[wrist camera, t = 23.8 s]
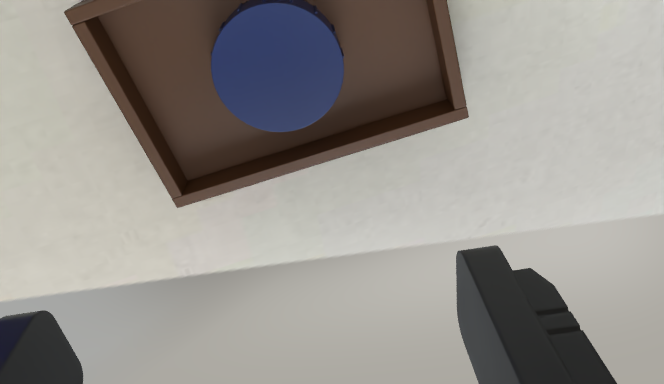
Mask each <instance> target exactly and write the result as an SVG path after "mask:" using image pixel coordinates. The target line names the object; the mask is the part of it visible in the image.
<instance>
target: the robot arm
mask: <svg viewBox="0 0 664 384" xmlns="http://www.w3.org/2000/svg"><path fill="white" fill-rule="evenodd" d="M456 269H457V270H456V274H457V314H458V321H459V327H460V330H461V335H462V338H463V341H464V344H465V347H466V349H467V352H468V355H469V358H470V360H471V363H472V366H473V369H474V372H475V374H476V377H477V380H478V382H479V384H617V383H616V381H615V380H614V378H613V377H612V375H611V374H610V372H609V371H608V369H607V367H606V366H605V364H604V363H603V361H602V360H601V358H600V356H599V355H598V353H597V352H596V350H595V349H594V347H593V346H592V344H591V343H590V341H589V339H588V338H587V336H586V335H585V333H584V332H583V331H581V330H580V325H579V324H578V322H577V321H576V319H575V318H574V316H573V314H572V313H571V312H569V311H568V307H567V305H566V304H565V302H564V300H563V299H562V297H561V296H560V294H559V293H558V291H557V290H556V288H555V286H554V285H553V284H551V283H550V282H549V281H547V280H546V279H545V278H543V277H542V276H541V275H539V274H538V273H537V272H535V271H534V270H532V269H531V268H528V269H521V270H514V271H512V269H511V267H510V265H509V263H508V262H507V260H506V258H505V256H504V255H503V253H502V251H501V250H500V248H499V247H498V246H489V247H482V248H476V249H468V250H461V251H458V252H457V256H456ZM0 384H83V371H82V366H81V363H80V361H79V359H78V358H77V356H76V355H75V352H74V351H73V349H72V347H71V346H70V344H69V342H68V340H67V339H66V337H65V335H64V334H63V332H62V330H61V329H60V327H59V325H58V323H57V321H56V320H55V318H54V317H53V315H52V314H51V313H49V312H48V311H37V312H30V313H23V314H16V315H10V316H5V317H2V318H1V319H0Z"/></svg>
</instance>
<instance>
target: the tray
mask: <svg viewBox="0 0 664 384" xmlns="http://www.w3.org/2000/svg"><path fill="white" fill-rule="evenodd" d="M247 1H249V0H84V1H81V2H80V3H78V4H76V5H74V6H73V7H71V8H69V9H67V10H66V11H65V12H64V13H65V15H66V17H67V18H68V20H69V22H70V23H71V25H73V26H72V27H73V29H74V30H75V32H76V34H77V36H78V37H79V39H80V41H81V43H82V44H83V46H84V48H85V49H86V51H87V53H88V55H89V56H90V58H91V60H92V62H93V63H94V65H95V67H96V68H97V70H98V72H99V74H100V75H101V77H102V79H103V80H104V82H105V84H106V86H107V87H108V89H109V91H110V93H111V94H112V96H113V98H114V99H115V101H116V103H117V105H118V106H119V108H120V110H121V112H122V113H123V115H124V117H125V118H126V120H127V122H128V124H129V125H130V127H131V129H132V130H133V132H134V134H135V136H136V137H137V139H138V141H139V143H140V144H141V146H142V148H143V149H144V151H145V153H146V155H147V156H148V158H149V160H150V162H151V163H152V165H153V167H154V168H155V170H156V172H157V174H158V175H159V177H160V179H161V180H162V182H163V184H164V186H165V187H166V189H167V191H168V193H169V194H170V196H171V198H172V200H173V201H174V203H175V205H176V207H177V208H179V207H182V206H185V205H189V204H192V203H195V202H198V201H201V200H205V199H208V198H211V197H214V196H218V195H221V194H224V193H227V192H230V191H234V190H237V189H240V188H243V187H247V186H250V185H253V184H256V183H259V182H263V181H266V180H269V179H272V178H275V177H279V176H282V175H285V174H288V173H292V172H295V171H298V170H301V169H304V168H308V167H311V166H314V165H317V164H321V163H324V162H327V161H330V160H333V159H337V158H340V157H343V156H346V155H350V154H353V153H356V152H359V151H362V150H366V149H369V148H372V147H375V146H379V145H382V144H385V143H388V142H391V141H395V140H398V139H401V138H404V137H407V136H411V135H414V134H417V133H420V132H424V131H427V130H430V129H433V128H436V127H440V126H443V125H446V124H449V123H453V122H456V121H459V120H462V119H465V118H468V117H469V116H468V110H467V107H466V100H465V95H464V90H463V84H462V79H461V74H460V68H459V63H458V58H457V53H456V47H455V42H454V37H453V31H452V26H451V21H450V15H449V10H448V5H447V0H304V1H306V2H308V3H309V4H311V5H313V6H314V5H316V6H317V9H318V10H319V11H320V12H321V13H322V14H323V15H324V16H325V17H326V18H327V20H328V21H329V22H330V24H331V25H332V24H333V25H334V28H335V32H336V35H337V38H338V41H339V45H340V48H342V50H343V54H344V58H343V63H344V76H343V83H342V87H341V90H340V92H339V95H338V97H337V99H336V101H335V102H334V104H333V105H332V107H331V108H330V109H329V110H328V111H327V112H326V113H325V115H324V116H322V117H321V118H320V119H318V120H317V121H316V122H314V123H312V124H311V125H308V126H306V127H304V128H301V129H298V130H294V131H288V132H271V131H266V130H261V129H258V128H255V127H253V126H251V125H248V124H246V123H245V122H243V121H241V120H240V119H239V118H237V117H236V116H235V115H234V114H233V113H232V112H231V111H230V110H229V109H228V108H227V107H226V106H225V105H224V103H223V102H222V100H221V99H220V97H219V95H218V93H217V91H216V89H215V86H214V83H213V80H212V74H211V52H212V50H213V47H214V44H215V42H216V39H217V37H218V35H219V33H220V31H219V29H220V27H221V25H222V23H223V21H224V22H226V20H227V19H228V17H229V16H230V15H231V14H232V13H233V12H234V11H235V10H236V9H237V8H238V7H239V4H240V3H242V4H244V3H245V2H247Z"/></svg>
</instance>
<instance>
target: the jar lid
mask: <svg viewBox="0 0 664 384" xmlns="http://www.w3.org/2000/svg"><path fill="white" fill-rule="evenodd" d="M219 31H220V33H219V35H218V37H217V39H216V42H215V44H214V47H213V50H212V52H211V74H212V80H213V83H214V86H215V89H216V91H217V93H218V95H219V97H220V99H221V100H222V102H223V103H224V105H225V106H226V107H227V108H228V109H229V110H230V111H231V112H232V113H233V114H234V115H235V116H236V117H237V118H239V119H240V120H241V121H243V122H245V123H246V124H248V125H251V126H253V127H255V128H258V129H261V130H266V131H271V132H288V131H294V130H298V129H301V128H304V127H306V126H308V125H311V124H312V123H314V122H316V121H317V120H318V119H320V118H321V117H322V116H324V115H325V113H326V112H327V111H328V110H329V109H330V108H331V107H332V105H333V104H334V102H335V101H336V99H337V97H338V95H339V92H340V90H341V87H342V83H343V76H344V63H343V58H344V54H343V50H342V48H340V45H339V41H338V38H337V35H336V32H335V28H334V25H333V24H332V25H331V24H330V22H329V21H328V20H327V18H326V17H325V16H324V15H323V14H322V13H321V12H320V11H319V10H318V9H317V6H316V5H314V6H313V5H311V4H309V3H308V2H306V1H304V0H249V1H247V2H245V3H244V4H242V3H240V4H239V7H238V8H237V9H236V10H235V11H234V12H233V13H232V14H231V15H230V16H229V17H228V19H227V20H226V22H224V21H223V23H222V25H221V27H220V29H219Z"/></svg>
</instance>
